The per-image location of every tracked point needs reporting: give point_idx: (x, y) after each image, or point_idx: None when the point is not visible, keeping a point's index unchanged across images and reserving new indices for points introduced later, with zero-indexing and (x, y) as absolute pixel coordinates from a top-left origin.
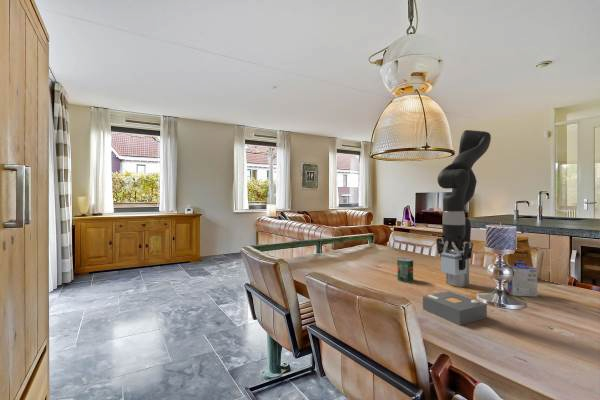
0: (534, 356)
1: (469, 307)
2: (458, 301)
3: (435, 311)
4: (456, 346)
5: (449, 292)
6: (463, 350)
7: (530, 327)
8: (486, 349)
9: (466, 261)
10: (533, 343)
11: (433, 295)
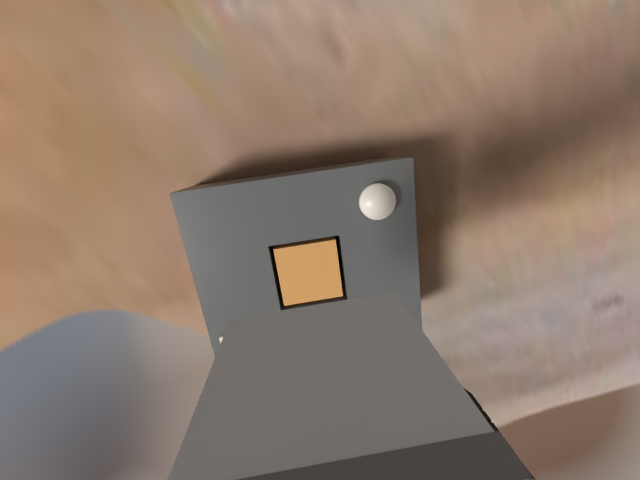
0: (623, 258)
1: (412, 274)
2: (331, 262)
3: None
4: (493, 402)
5: (193, 205)
6: (514, 399)
7: (522, 59)
8: (539, 345)
9: (456, 381)
10: (589, 186)
11: (221, 321)
